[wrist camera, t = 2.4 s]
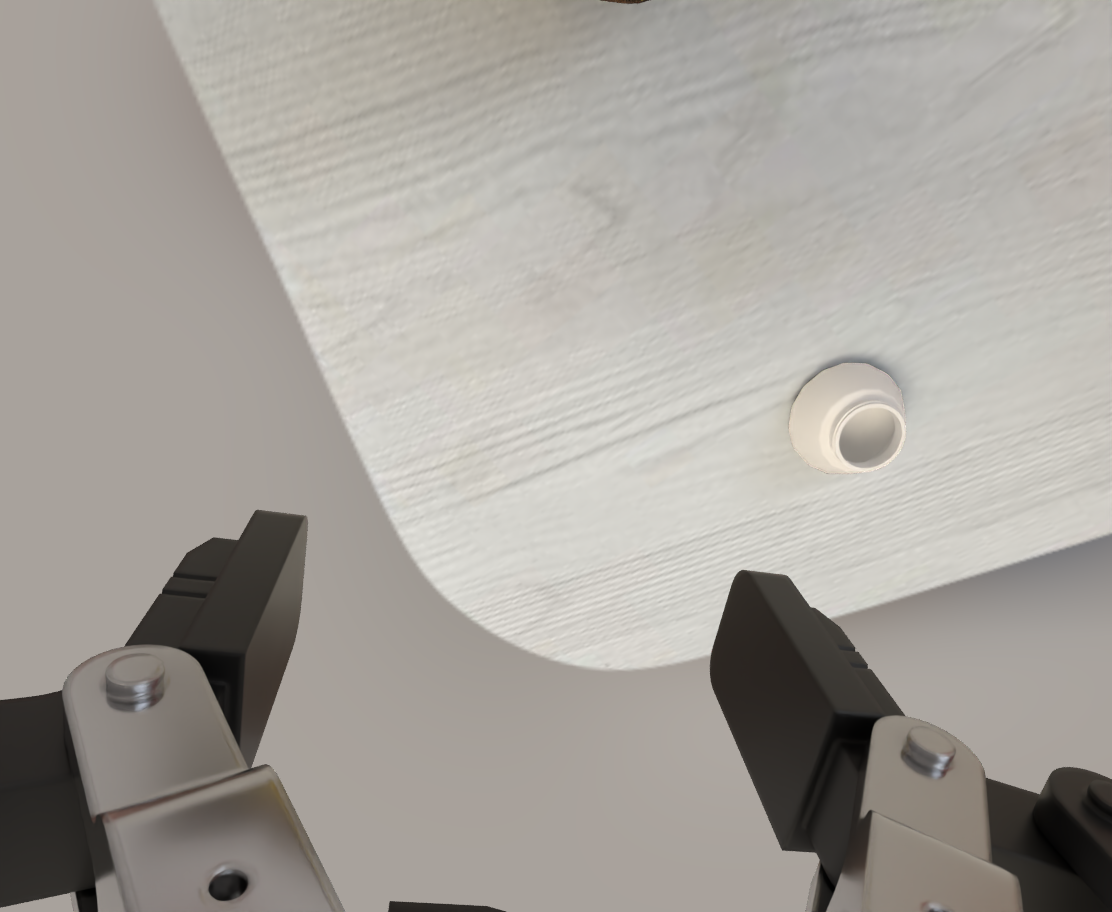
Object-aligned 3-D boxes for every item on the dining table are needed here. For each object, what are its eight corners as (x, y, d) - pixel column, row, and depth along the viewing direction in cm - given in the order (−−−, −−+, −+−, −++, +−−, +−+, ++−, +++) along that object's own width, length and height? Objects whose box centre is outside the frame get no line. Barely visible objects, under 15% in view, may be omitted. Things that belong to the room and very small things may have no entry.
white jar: (884, 344, 35) (774, 384, 35) (919, 362, 32) (799, 405, 33) (903, 444, 37) (799, 482, 37) (938, 469, 34) (825, 510, 34)
